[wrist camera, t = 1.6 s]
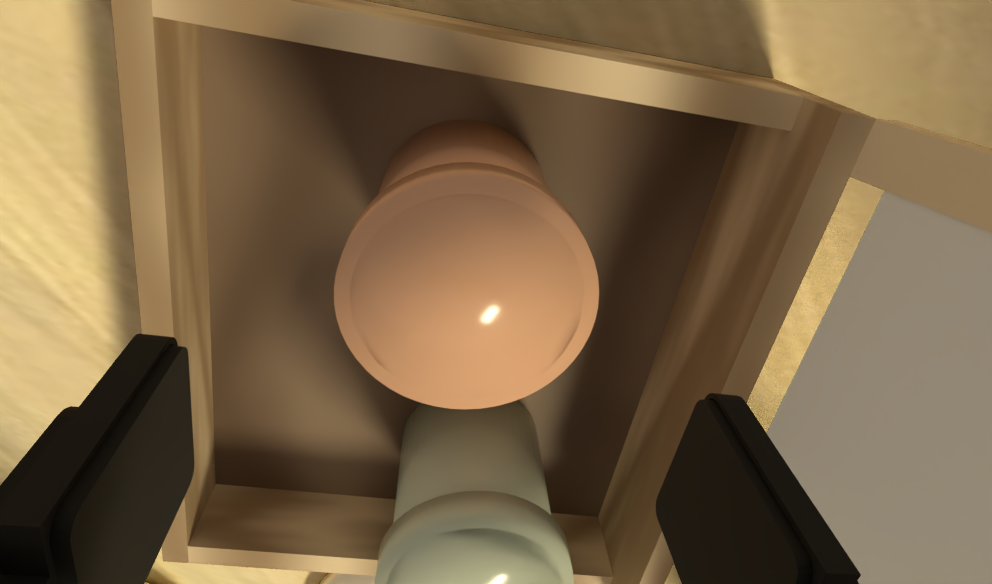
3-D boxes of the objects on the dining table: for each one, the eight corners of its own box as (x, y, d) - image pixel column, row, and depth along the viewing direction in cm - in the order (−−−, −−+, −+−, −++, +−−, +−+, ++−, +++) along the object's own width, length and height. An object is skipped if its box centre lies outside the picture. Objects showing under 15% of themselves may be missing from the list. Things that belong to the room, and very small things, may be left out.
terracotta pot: (577, 125, 22) (630, 200, 15) (536, 296, 25) (565, 420, 18) (378, 91, 21) (343, 155, 14) (361, 273, 24) (326, 395, 17)
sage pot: (561, 387, 27) (595, 528, 20) (529, 501, 30) (549, 655, 24) (402, 369, 26) (384, 510, 19) (386, 489, 29) (366, 645, 23)
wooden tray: (774, 79, 22) (875, 119, 17) (609, 523, 32) (640, 635, 27) (171, -37, 19) (63, -33, 14) (198, 488, 29) (141, 605, 24)
